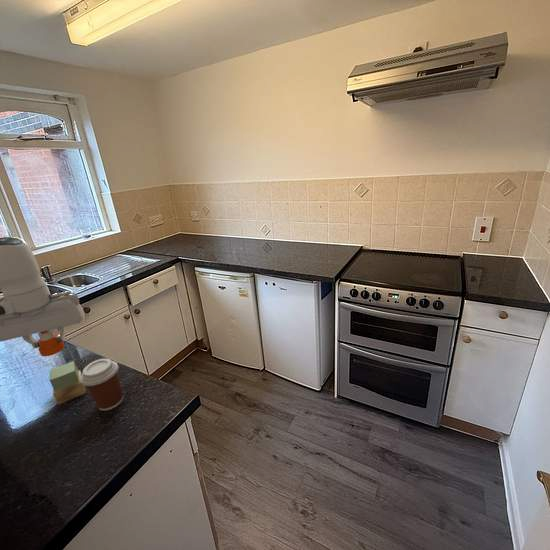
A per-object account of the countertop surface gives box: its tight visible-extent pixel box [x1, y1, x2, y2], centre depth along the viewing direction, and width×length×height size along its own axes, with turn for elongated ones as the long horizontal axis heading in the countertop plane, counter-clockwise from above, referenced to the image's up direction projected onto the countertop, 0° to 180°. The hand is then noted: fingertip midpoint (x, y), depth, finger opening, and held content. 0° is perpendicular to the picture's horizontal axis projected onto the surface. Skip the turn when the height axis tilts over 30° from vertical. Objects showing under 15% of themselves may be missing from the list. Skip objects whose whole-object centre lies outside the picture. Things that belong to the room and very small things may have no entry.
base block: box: [52, 369, 87, 406], centre depth 88 cm, size 7×7×4 cm
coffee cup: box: [80, 358, 125, 412], centre depth 81 cm, size 9×9×12 cm
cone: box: [37, 329, 66, 357], centre depth 82 cm, size 6×6×7 cm
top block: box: [49, 360, 79, 392], centre depth 86 cm, size 6×6×4 cm
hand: (50, 343), depth 82 cm, fingers closed on cone, 4 cm apart
